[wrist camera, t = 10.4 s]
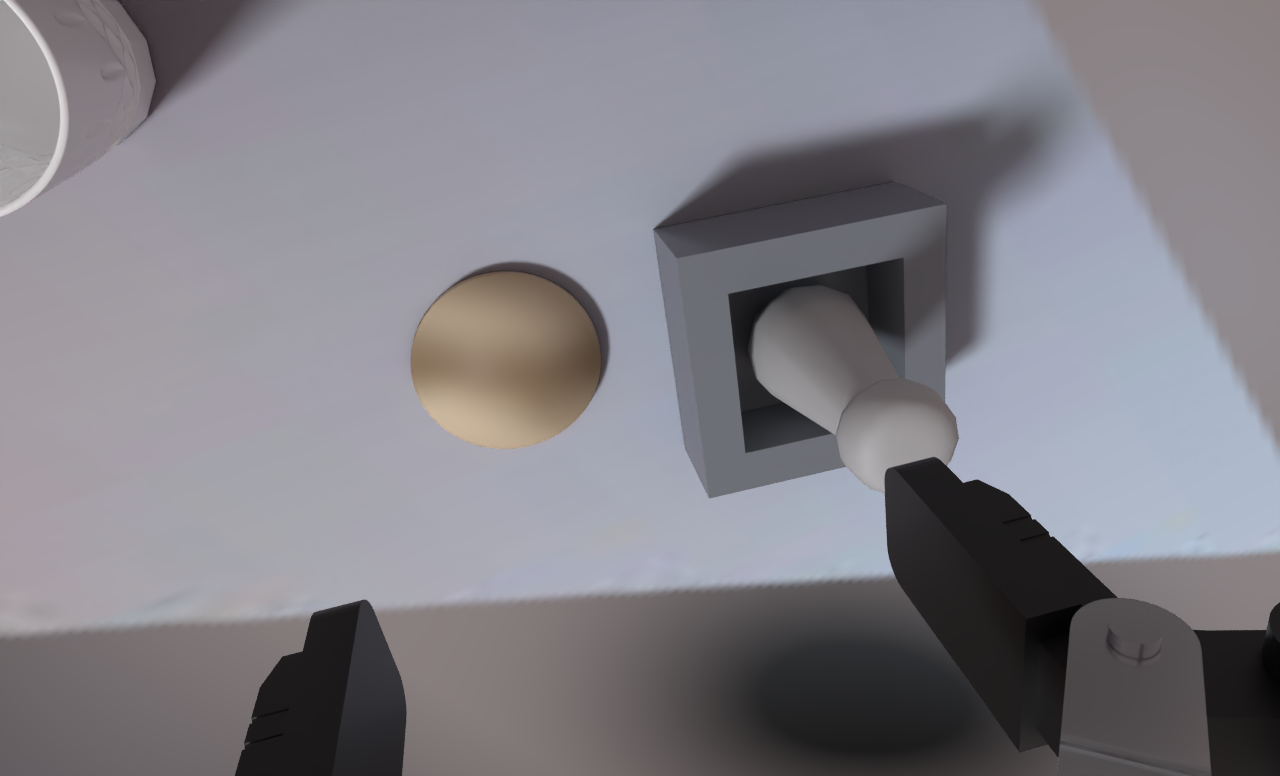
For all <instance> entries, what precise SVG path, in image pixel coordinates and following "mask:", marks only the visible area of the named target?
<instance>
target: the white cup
mask: <svg viewBox="0 0 1280 776" xmlns="http://www.w3.org/2000/svg"><path fill="white" fill-rule="evenodd" d="M155 84H156V79H155V75H154V70H153V66H152V62H151V57H150V53H149V48H148V44H147V40H146V39H145V37H144V36H143V35H142V33H141V32H140V30H139V29H138V28H137V26H136V25H135V23H134V22H133V21H132V19H131V18H130V16H129V15H128V14H127V12H126V11H125V9H124V8H123V7H122V5H121V4H120V3H119V2H118V1H117V0H0V217H1V216H4V215H6V214H9V213H11V212H13V211H15V210H17V209H19V208H21V207H22V206H24V205H26V204H27V203H29V202H30V201H32V200H34V199H35V198H37V197H39V196H40V195H42V194H44V193H45V192H47V191H49V190H50V189H52V188H54V187H56V186H57V185H59V184H61V183H62V182H64V181H66V180H67V179H69V178H71V177H73V176H74V175H76V174H78V173H79V172H81V171H82V170H84V169H85V168H87V167H88V166H90V165H91V164H93V163H94V162H95V161H97V160H98V159H100V158H101V157H103V156H104V155H106V154H107V153H108V152H110V151H111V150H112V149H113V148H114V147H116V146H117V145H119V144H121V143H122V142H123V141H124V140H125V139H126V138H127V137H128V136H129V135H130V134H131V133H132V132H133V131H134V130H135V129H136V128H137V127H138V126H139V125H140V124H141V123H142V122H143V121H144V120H145V119H146V118H147V115H148V111H149V107H150V103H151V99H152V95H153V92H154V88H155Z"/></svg>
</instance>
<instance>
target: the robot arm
mask: <svg viewBox="0 0 1280 776" xmlns="http://www.w3.org/2000/svg"><path fill="white" fill-rule="evenodd" d="M884 484H885V507H886V529H887V548H888V555H889V559H890V563H891V566H892V569H893V572H894V574H895V577H896V579H897V581H898V583H899V584H900V586H901V588H902V589H903V590H904V592H905V593H906V595H907V596H908V597H909V599H910V600H911V602H912V603H913V604H914V606H915V607H916V609H917V610H918V611H919V613H920V614H921V616H922V617H923V618H924V620H925V621H926V623H927V624H928V625H929V627H930V628H931V630H932V631H933V632H934V634H935V635H936V637H937V638H938V639H939V640H940V642H941V643H942V645H943V646H944V648H945V649H946V651H947V652H948V653H949V655H950V656H951V658H952V659H953V660H954V662H955V663H956V665H957V666H958V667H959V669H960V670H961V672H962V673H963V674H964V676H965V677H966V678H967V680H968V681H969V683H970V684H971V686H972V687H973V688H974V690H975V691H976V692H977V694H978V695H979V697H980V698H981V700H982V701H983V702H984V704H985V705H986V707H987V708H988V709H989V711H990V712H991V714H992V715H993V716H994V718H995V719H996V721H997V722H998V723H999V725H1000V726H1001V728H1002V729H1003V730H1004V732H1005V733H1006V734H1007V736H1008V737H1009V739H1010V740H1011V741H1012V742H1013V744H1014V746H1015V747H1016V748H1017V750H1018V751H1019V752H1023V751H1026V750H1030V749H1033V748H1037V747H1040V746H1043V745H1047V744H1048V745H1049V746H1050V748H1051V749H1052V750H1053V752H1054V753H1055V754H1056V756H1057V757H1058V770H1057V776H1280V603H1278V604H1277V605H1276V606H1275V607H1274V608H1273V610H1272V611H1271V613H1270V617H1269V621H1268V626H1267V630H1228V631H1227V630H1224V631H1223V630H1222V631H1205V630H1192V629H1191V628H1190V626H1189V625H1187V624H1186V623H1185V622H1184V621H1183V620H1182V619H1180V618H1179V617H1177V616H1176V615H1175V614H1173V613H1171V612H1169V611H1168V610H1166V609H1164V608H1161V607H1159V606H1157V605H1154V604H1151V603H1148V602H1144V601H1139V600H1135V599H1126V598H1117V597H1116V596H1115V595H1114V594H1113V593H1112V592H1111V591H1110V590H1109V589H1108V588H1107V587H1106V586H1105V585H1104V584H1103V583H1101V581H1100V580H1098V579H1097V578H1096V577H1095V576H1094V575H1093V574H1092V573H1091V572H1090V571H1089V570H1088V569H1087V568H1086V567H1085V566H1084V565H1083V564H1082V563H1081V562H1080V561H1079V560H1077V559H1076V558H1075V557H1074V556H1073V555H1072V554H1071V553H1070V552H1069V551H1068V550H1067V549H1066V548H1065V547H1064V546H1063V545H1062V544H1061V543H1060V542H1059V541H1058V540H1056V539H1055V538H1054V537H1050V535H1049V532H1048V531H1047V530H1046V529H1045V528H1044V527H1043V526H1042V525H1041V524H1040V523H1039V522H1038V521H1037V520H1035V519H1034V520H1032V518H1031V515H1030V514H1029V513H1028V512H1027V511H1026V510H1025V509H1024V508H1023V507H1022V506H1021V505H1020V504H1019V503H1018V502H1017V501H1016V500H1014V499H1013V498H1012V497H1011V496H1010V495H1009V494H1007V493H1005V492H1003V491H1001V490H999V489H997V488H995V487H992V486H990V485H988V484H986V483H984V482H982V481H980V480H973V481H969V482H965V483H963V482H962V481H961V480H960V479H959V478H958V477H957V476H956V475H955V474H954V473H953V472H952V471H951V470H950V469H949V468H948V467H947V466H946V465H945V464H944V463H943V462H942V461H941V460H940V459H938V458H937V457H930V458H926V459H922V460H918V461H914V462H911V463H907V464H903V465H899V466H895V467H891V468H888V469H887V470H886V472H885V478H884ZM251 718H252V724H250V725H249V728H248V731H247V735H246V739H245V742H244V745H245V750H242V752H241V756H240V760H239V763H238V767H237V770H236V773H235V776H402V768H403V755H404V742H405V729H406V701H405V694H404V689H403V684H402V680H401V677H400V674H399V671H398V669H397V666H396V664H395V662H394V659H393V657H392V654H391V652H390V649H389V647H388V644H387V642H386V640H385V637H384V635H383V632H382V630H381V627H380V625H379V622H378V620H377V617H376V615H375V612H374V610H373V608H372V606H371V604H370V603H369V602H368V601H367V600H361V601H357V602H353V603H349V604H345V605H341V606H337V607H333V608H329V609H325V610H321V611H317V612H314V613H313V615H312V616H311V619H310V623H309V628H308V632H307V636H306V640H305V644H304V648H303V651H302V652H299V653H295V654H291V655H287V656H283V657H282V658H281V659H280V661H279V662H278V664H277V665H276V666H275V668H274V669H273V670H272V672H271V673H270V674H269V676H268V677H267V679H266V680H265V681H264V683H263V684H262V685H261V687H260V689H259V693H258V696H257V700H256V703H255V707H254V710H253V714H252V717H251Z"/></svg>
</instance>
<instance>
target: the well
mask: <svg viewBox="0 0 1280 776" xmlns="http://www.w3.org/2000/svg"><path fill="white" fill-rule="evenodd" d="M653 230H654V237H655V244H656V251H657V258H658V265H659V272H660V279H661V285H662V292H663V299H664V306H665V313H666V320H667V327H668V334H669V341H670V348H671V355H672V361H673V368H674V375H675V382H676V389H677V396H678V403H679V410H680V417H681V424H682V431H683V438H684V444H685V450H686V452H687V454H688V456H689V458H690V460H691V462H692V464H693V466H694V468H695V470H696V472H697V474H698V476H699V479H700V481H701V483H702V485H703V487H704V489H705V491H706V493H707V495H708V497H709V498H713V497H717V496H721V495H726V494H730V493H734V492H739V491H743V490H747V489H752V488H756V487H760V486H765V485H769V484H773V483H778V482H782V481H786V480H790V479H795V478H799V477H803V476H808V475H812V474H816V473H821V472H825V471H829V470H834V469H838V468H842V467H846V465H845V464H844V463H843V461H842V460H841V457H840V452H839V447H838V442H837V436H836V435H834V434H833V433H831V432H830V431H828V430H827V429H825V428H823V427H822V426H820V425H819V424H817V423H815V422H814V421H812V420H811V419H809V418H808V417H806V416H804V415H803V414H801V413H800V412H798V411H797V410H795V409H793V408H792V407H790V406H789V405H787V404H786V403H784V402H782V401H781V400H779V399H778V398H776V397H775V396H773V395H771V393H770V392H769V391H768V390H767V389H766V388H765V387H764V386H763V385H762V384H761V383H760V382H759V381H758V380H757V379H756V378H755V376H754V373H753V370H752V366H751V362H750V358H749V354H748V350H747V348H748V344H749V339H750V335H751V331H752V326H753V321H754V315H755V314H756V313H757V312H759V311H760V310H761V309H762V308H763V307H764V306H765V305H766V304H767V303H769V302H770V301H771V300H772V299H773V298H774V297H775V296H776V295H777V294H779V293H780V292H781V291H782V290H784V289H788V288H792V287H801V286H811V285H822V286H825V287H828V288H831V289H834V290H836V291H839V292H842V293H845V294H848V295H849V296H850V297H851V298H852V299H853V301H854V302H855V303H856V305H857V306H858V307H859V308H860V310H861V311H862V312H863V314H864V315H865V317H866V319H867V321H868V322H869V324H870V326H871V328H872V329H873V331H874V333H875V335H876V337H877V338H878V340H879V342H880V344H881V346H882V347H883V349H884V351H885V353H886V354H887V356H888V358H889V360H890V362H891V363H892V365H893V367H894V369H895V370H896V372H897V373H898V375H899V377H900V378H904V379H908V380H911V381H914V382H917V383H920V384H923V385H926V386H928V387H930V388H931V389H933V390H934V391H936V392H937V393H938V395H939V396H940V397H941V399H942V400H943V401H944V402H945V354H946V246H947V204H946V203H943V202H941V201H939V200H937V199H934V198H932V197H930V196H927V195H925V194H923V193H920V192H918V191H916V190H913V189H911V188H909V187H907V186H904V185H902V184H900V183H897V182H890V183H885V184H880V185H874V186H869V187H864V188H859V189H854V190H849V191H844V192H839V193H834V194H829V195H824V196H819V197H814V198H809V199H804V200H799V201H793V202H788V203H783V204H778V205H773V206H768V207H763V208H758V209H753V210H748V211H743V212H738V213H733V214H728V215H723V216H718V217H713V218H707V219H702V220H697V221H692V222H687V223H682V224H677V225H672V226H667V227H662V228H657V229H653Z"/></svg>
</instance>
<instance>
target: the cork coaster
mask: <svg viewBox="0 0 1280 776" xmlns="http://www.w3.org/2000/svg"><path fill="white" fill-rule="evenodd" d="M600 371H601V351H600V345H599V341H598V337H597V334H596V331H595V329H594V326H593V324H592V321H591V320H590V318H589V316H588V314H587V313H586V311H585V310H584V308H583V307H582V306H581V305H580V303H579V302H578V301H577V300H576V299H575V298H574V297H573V296H572V295H571V294H570V293H568V292H567V291H566V290H564V289H563V288H562V287H560V286H558V285H557V284H555V283H553V282H551V281H549V280H547V279H544V278H542V277H539V276H536V275H532V274H528V273H524V272H515V271H497V272H490V273H484V274H481V275H477V276H473V277H471V278H469V279H466V280H464V281H462V282H460V283H458V284H456V285H454V286H453V287H451V288H450V289H448V290H447V291H446V292H444V293H443V294H442V295H441V296H440V297H439V298H438V299H437V300H436V301H435V302H434V303H433V304H432V305H431V306H430V307H429V309H428V310H427V311H426V313H425V314H424V316H423V318H422V320H421V321H420V323H419V325H418V328H417V331H416V333H415V336H414V341H413V345H412V352H411V374H412V379H413V384H414V387H415V390H416V392H417V395H418V397H419V399H420V401H421V403H422V405H423V406H424V408H425V409H426V411H427V412H428V413H429V415H430V416H431V417H432V418H433V419H434V420H435V421H436V422H437V423H438V424H439V425H440V426H441V427H443V428H444V429H445V430H446V431H448V432H449V433H451V434H453V435H454V436H456V437H458V438H460V439H462V440H464V441H467V442H469V443H472V444H475V445H479V446H483V447H488V448H497V449H513V448H521V447H527V446H531V445H534V444H538V443H541V442H543V441H545V440H548V439H550V438H552V437H554V436H555V435H557V434H559V433H561V432H562V431H563V430H565V429H566V428H568V427H569V426H570V425H571V424H572V423H573V422H574V421H575V420H576V419H578V417H579V416H580V415H581V414H582V413H583V411H584V410H585V409H586V407H587V406H588V404H589V403H590V401H591V399H592V397H593V395H594V393H595V391H596V388H597V384H598V381H599V377H600Z"/></svg>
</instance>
